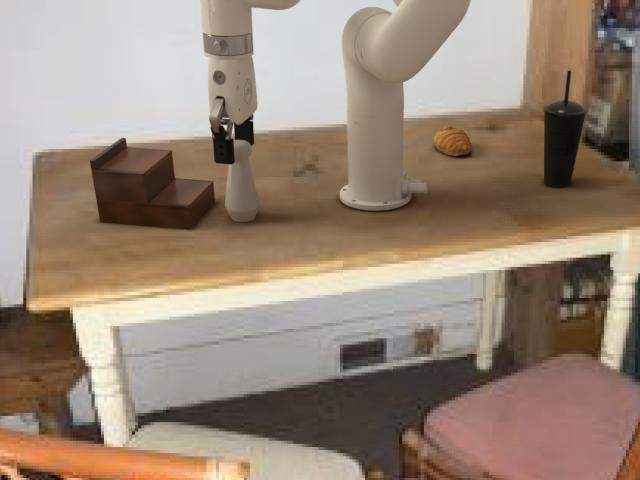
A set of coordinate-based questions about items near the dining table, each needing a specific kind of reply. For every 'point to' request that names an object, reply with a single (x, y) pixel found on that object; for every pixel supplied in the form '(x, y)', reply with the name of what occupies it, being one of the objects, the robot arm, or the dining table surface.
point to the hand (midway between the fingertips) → (235, 153)
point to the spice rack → (147, 189)
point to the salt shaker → (241, 185)
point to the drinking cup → (562, 138)
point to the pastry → (452, 141)
